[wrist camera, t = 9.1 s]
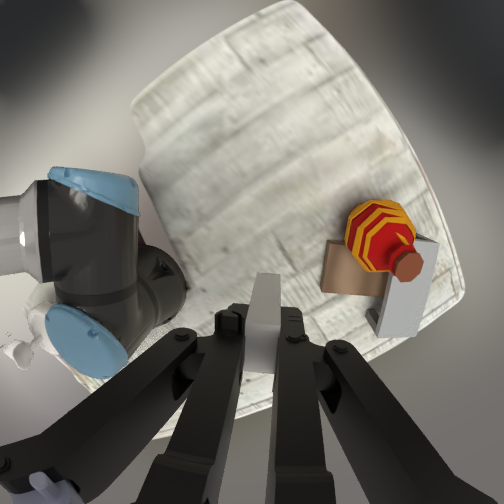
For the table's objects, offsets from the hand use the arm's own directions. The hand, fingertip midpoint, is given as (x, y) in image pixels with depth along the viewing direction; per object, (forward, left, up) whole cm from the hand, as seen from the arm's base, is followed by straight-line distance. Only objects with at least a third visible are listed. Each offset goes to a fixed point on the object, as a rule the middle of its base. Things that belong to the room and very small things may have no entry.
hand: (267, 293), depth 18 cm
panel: (+16, -6, -27) cm, 32 cm away
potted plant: (-47, -23, -27) cm, 58 cm away
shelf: (+22, -7, -26) cm, 35 cm away
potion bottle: (+14, +3, -26) cm, 30 cm away
